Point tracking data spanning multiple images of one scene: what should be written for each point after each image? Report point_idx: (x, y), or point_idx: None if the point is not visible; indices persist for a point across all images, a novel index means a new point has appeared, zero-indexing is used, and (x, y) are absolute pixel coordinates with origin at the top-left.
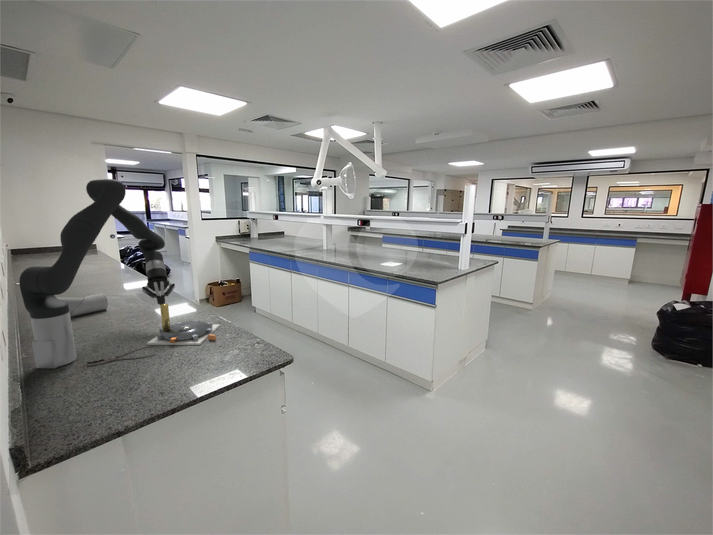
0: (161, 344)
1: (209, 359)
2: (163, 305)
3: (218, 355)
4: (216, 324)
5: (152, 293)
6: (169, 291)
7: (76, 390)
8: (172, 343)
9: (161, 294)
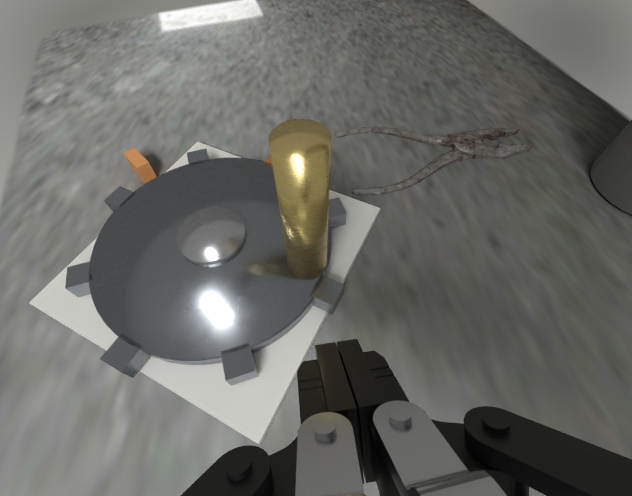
0: None
1: (201, 73)
2: (303, 123)
3: (173, 82)
4: (43, 309)
5: (513, 433)
6: (185, 494)
7: (471, 56)
8: None
9: (344, 422)
